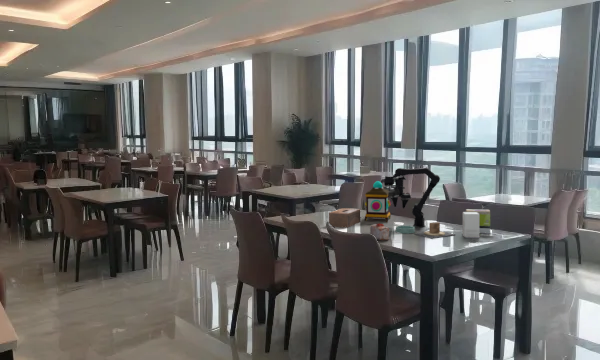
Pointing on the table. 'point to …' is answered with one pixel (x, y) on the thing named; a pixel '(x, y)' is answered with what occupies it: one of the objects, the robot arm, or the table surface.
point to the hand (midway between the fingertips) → (399, 207)
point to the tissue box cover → (345, 217)
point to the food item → (379, 231)
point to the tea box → (482, 220)
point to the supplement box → (470, 224)
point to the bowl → (405, 229)
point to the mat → (434, 236)
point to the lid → (434, 229)
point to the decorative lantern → (377, 202)
